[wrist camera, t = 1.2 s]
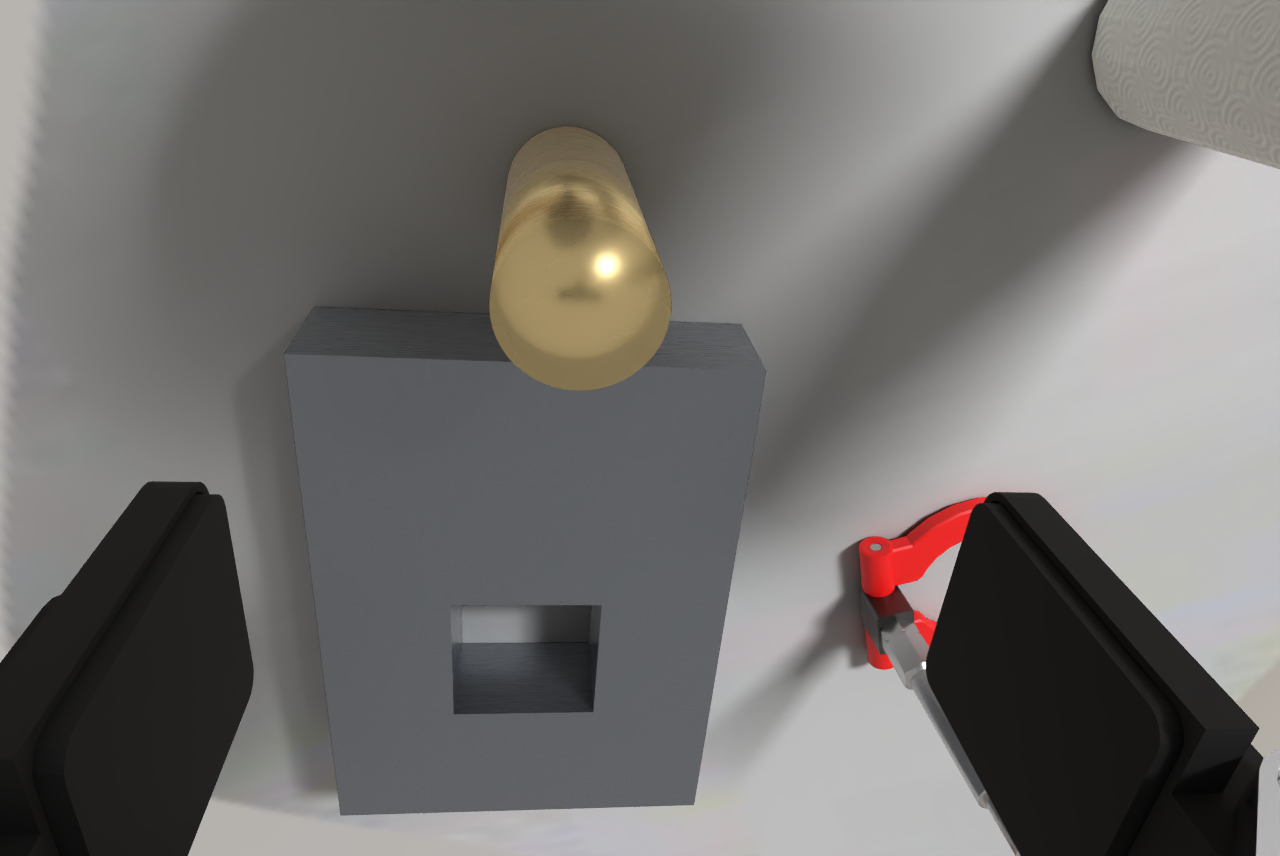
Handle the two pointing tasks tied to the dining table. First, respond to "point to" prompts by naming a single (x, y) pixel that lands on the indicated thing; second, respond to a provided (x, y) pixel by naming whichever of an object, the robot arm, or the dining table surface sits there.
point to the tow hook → (914, 621)
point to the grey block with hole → (516, 559)
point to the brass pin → (576, 266)
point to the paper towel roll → (1195, 71)
